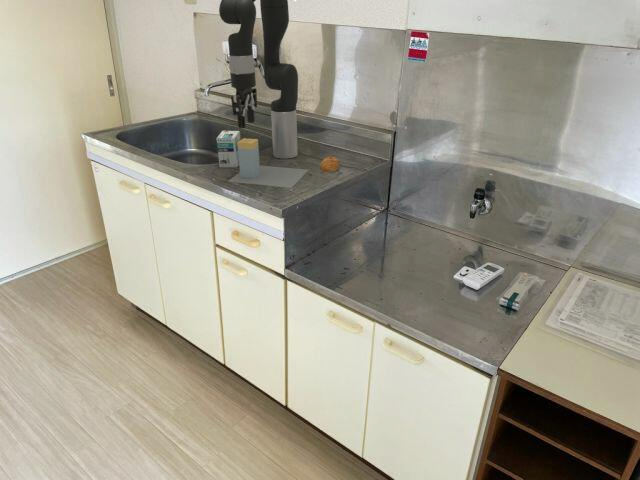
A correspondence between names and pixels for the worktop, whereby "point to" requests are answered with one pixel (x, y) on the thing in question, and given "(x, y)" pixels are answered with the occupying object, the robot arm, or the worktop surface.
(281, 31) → the robot arm
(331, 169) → the pastry
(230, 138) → the light bulb box
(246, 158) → the block
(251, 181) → the mat
